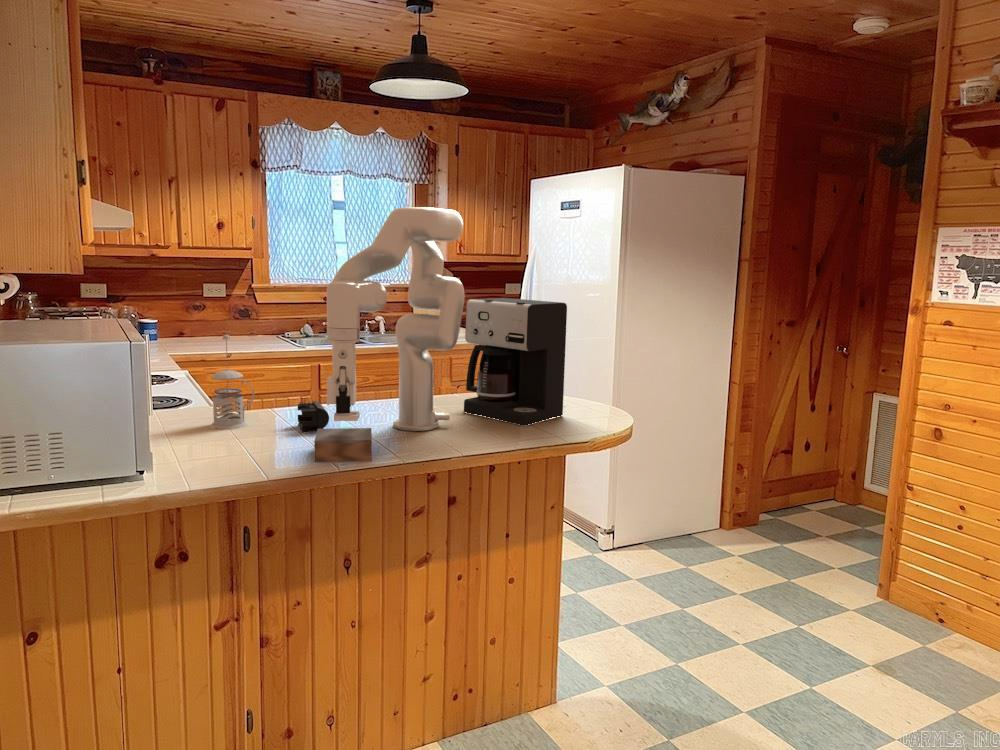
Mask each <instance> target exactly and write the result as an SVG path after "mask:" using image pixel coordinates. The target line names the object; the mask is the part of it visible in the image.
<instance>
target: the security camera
mask: <svg viewBox="0 0 1000 750" xmlns="http://www.w3.org/2000/svg"><path fill="white" fill-rule="evenodd" d="M347 379H348V378H347ZM339 383H340V381H339ZM345 383H347V380H345ZM346 387H347V386H346ZM336 396H337V385H336V384H335V383H334V376H333V375H332V374H331V375H329V376H328V377H327V378H326V405H327V406H329V405H336ZM349 396H350V407H351V406H355V403H356V402H357V381H356V382H355V384H354V385H353V384H352V383H350V382H349ZM359 419H360V410H358V411H357V410H350V413H340V414H338V413H336V412H335V413H334V415H333V421H335V422H357V421H358V420H359Z"/></svg>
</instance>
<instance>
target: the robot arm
mask: <svg viewBox="0 0 1000 750" xmlns="http://www.w3.org/2000/svg"><path fill="white" fill-rule="evenodd" d="M463 229H464V222H463V218H462V216H461V215H460V213H459V212H458V211H456V210H454V209H447V208H446V209H445V208H437V207H430V206H429V207H427V206H426V207H425V206H424V207H423V206H422V207H420V206H417V207H414V206H413V207H412V206H411V207H409V206H408V207H407V206H406V207H405V206H404V207H399V208H398V207H397V208H395V209H393V210H392V211H391V212H390V213H389V215H388V216H387V218H386V220H385V221H384V223H383V225H382V227H381V228H380V230H379V231H378V233H377V235H376V237H375V238H374V240H373V242H372V244H370V246H368V247H366V248H364V249H363V250H361V251H359V252H358V253H356V254H355V255H353V256H352V257H351V258H349V259H348V260H346V261H345V262H344V263H343V264H342V265H341V266H340V268H339V269H338V270H337V273H336V274H335V276H333V278H332V281H331V282H329V283H328V284H327V286H326V342H328V343H331V344H332V345H331V346H332V347H331V351H332V353H331V354H332V358H331V359H332V374H333V376H334V383H335V384H336V385H337V396H336V404H335V413H338V414H340V413H350V411H351V406H350V396H349V382H350V383H352V384H353V385H354V384H355V382H356V383H357V376H356V375H357V372H356V371H357V369H356V368H357V366H356V365H357V357H356V356H357V351H356V343H359V342H360V341H361V339H360V337H361V335H360V334H361V333H360V332H361V331H360V330H361V329H360V327H361V324H360V323H361V322H360V320H361V319H360V317H361V315H360V313H376V312H378V311H381V310H382V309H383V308H384V307H385V306H386V303H387V301H388V292H387V290H386V288H385V287H384V286H383V284H381V283H379V282H378V281H374V280H373V281H372V280H366V279H368V278H371V277H372V276H375V275H379V274H381V273H385V272H389V271H390V270H393V269H395V268H397V267H399V266H400V265H401V263H403V260H404V259H405V256H406V254H407V253H408V250H409V249H410V247H411V251H412V256H413V259H412V260H413V261H412V268H411V272H410V273H411V274H410V277H409V278H410V279H409V285H408V290H407V302H408V304H409V306H410V307H412V308H413V309H416V310H421V311H422V310H423V311H429V312H430V311H431V312H432V311H433V312H439V314H428V313H408V314H404V315H402V316H401V317H399V318H398V320H397V321H396V324H395V337H396V343H397V348H398V350H397V351H398V377H399V378H398V419H396V420H394V421H393V424H392V425H393V427H394V428H395V429H397V430H401V431H406V432H408V431H409V432H424V431H431V430H435V429H438V427H439V421H450V413H445V412H437V411H435V408H434V370H435V368H434V362H433V358H432V356H431V354H430V352H429V351H428V350H431V351H433V350H434V351H441V352H442V351H443V352H444V351H446V352H447V351H450V350H453V348H454V347H456V344H457V342H458V340H459V335H460V328H461V324H462V317H463V313H464V311H463V310H464V305H465V296H466V295H465V289H464V285H463V283H462V282H461V280H460V279H458V278H457V277H453V276H445V275H444V276H443V271H444V266H445V264H444V262H445V261H444V260H445V259H444V256H443V254H442V252H441V250H440V249H439V247H438V246H437V244H436V242H446V243H447V242H449V243H451V242H455V241H457V240H459V238H460V237H461V236H462V234H463ZM347 378H348V379H347ZM345 380H347V383H345ZM339 381H340V383H339ZM346 386H347V387H346Z"/></svg>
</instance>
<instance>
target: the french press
mask: <svg viewBox="0 0 1000 750" xmlns="http://www.w3.org/2000/svg"><path fill="white" fill-rule="evenodd" d="M222 340H225V347H226V348H225V350H226V351H225V353H226V358H228V340H230V335H229V334H223V336H222ZM243 377H244V375H243V374H242V373H241V372H239V371H236V370H232V369H229V368H228V363H226V369H224V370H220V371H217V372H215V373H214V374H212V376H211V379H213V380H216V381H226V384H227V385H226V387H224V388H222V387H221V388H217V389H214V390H213V393H214V395H213V396H212V402H213V403H212V407H213V412H212V413H213V421H212V423H211V424H210V426H211V427H213V428H212V429H215V428H218V429H217V430H235V428H237V429H240V427H242V428H245V427H247V426H248V425H247V424H248V423H247V422H246V421H245V408H246V407H248V406H250V404H252V403H253V401H254V398H255V391H254V388H253V385H252V384H251V383H250V382H249V381H247V380H245V379H242V378H243ZM240 379H242V380H241V386H243V387H244V383H246V384H248V385H249V386H250V387H251V394H252V395H251V398H250V400H249V401H248V402H247V403H245V404H244V396H243V394H241V392H242V389H241V388H234V387H231V388H229V381H233V380H234V381H235V380H240ZM233 403H235V404H233ZM219 407H220V408H219ZM236 408H237V409H236ZM235 412H236V413H235ZM246 425H247V426H246ZM244 426H245V427H244ZM211 427H210V428H211Z"/></svg>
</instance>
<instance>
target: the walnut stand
mask: <svg viewBox="0 0 1000 750" xmlns="http://www.w3.org/2000/svg"><path fill="white" fill-rule="evenodd" d="M315 433H316V434H315V437H314V463H329V462H330V463H331V462H337V463H338V462H339V463H341V462H371V461H372V460H373V440H372V439H373V437H372V436H373V435H372V433H373V432H372V427H356V428H355V427H353V428H351V427H347V428H345V427H343V428H341V427H339V428H338V427H337V428H323V429H317V432H315Z"/></svg>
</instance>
